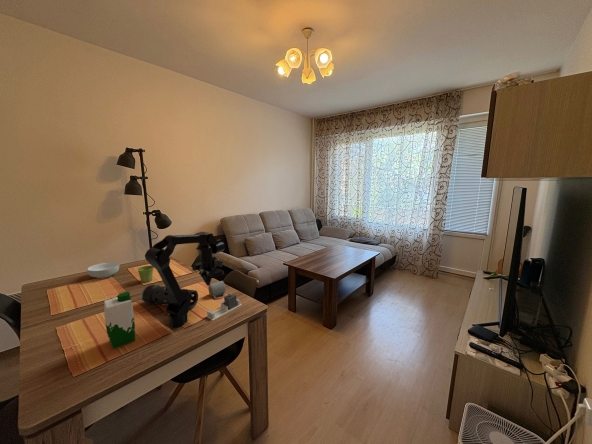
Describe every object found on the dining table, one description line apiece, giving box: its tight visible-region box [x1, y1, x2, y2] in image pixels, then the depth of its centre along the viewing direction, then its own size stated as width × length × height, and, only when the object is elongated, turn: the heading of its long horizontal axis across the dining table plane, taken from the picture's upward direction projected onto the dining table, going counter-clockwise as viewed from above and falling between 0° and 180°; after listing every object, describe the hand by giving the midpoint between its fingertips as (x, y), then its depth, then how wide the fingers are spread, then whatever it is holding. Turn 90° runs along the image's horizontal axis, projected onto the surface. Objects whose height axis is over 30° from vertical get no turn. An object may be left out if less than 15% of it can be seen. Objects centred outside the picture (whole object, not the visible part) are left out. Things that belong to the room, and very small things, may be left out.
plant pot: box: [136, 265, 155, 283], centre depth 151 cm, size 9×9×9 cm
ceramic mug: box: [207, 280, 226, 300], centre depth 133 cm, size 11×8×8 cm
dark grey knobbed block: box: [223, 292, 237, 310], centre depth 120 cm, size 4×4×7 cm
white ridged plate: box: [205, 298, 243, 321], centre depth 118 cm, size 18×7×3 cm, turn 144°
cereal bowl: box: [86, 261, 120, 279], centre depth 157 cm, size 17×17×7 cm
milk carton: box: [103, 291, 136, 350], centre depth 94 cm, size 9×9×20 cm
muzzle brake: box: [140, 284, 199, 310], centre depth 121 cm, size 10×28×10 cm, turn 78°
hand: (208, 285), depth 120 cm, fingers closed
